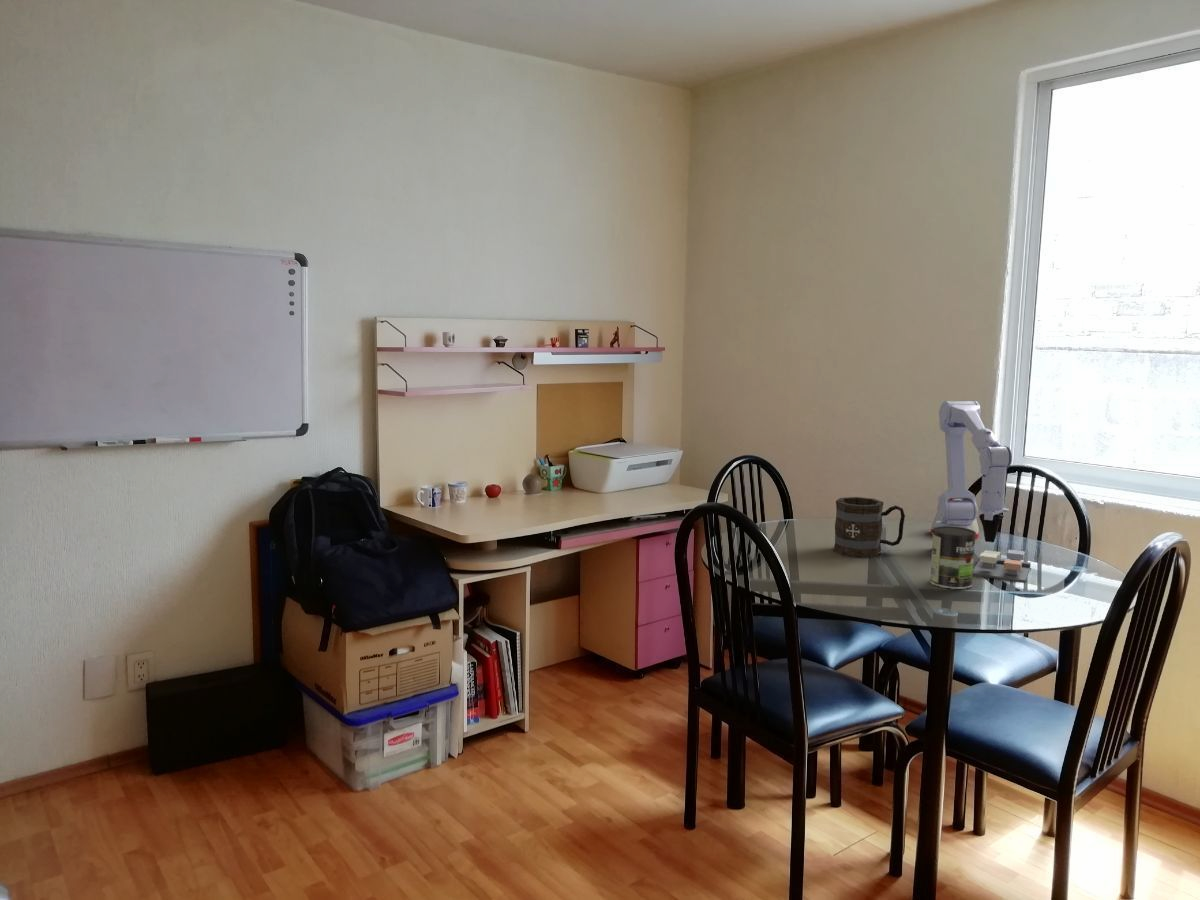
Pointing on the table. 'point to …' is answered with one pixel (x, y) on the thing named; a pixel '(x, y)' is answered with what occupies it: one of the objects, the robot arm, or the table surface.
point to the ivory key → (988, 559)
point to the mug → (861, 526)
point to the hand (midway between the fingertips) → (989, 541)
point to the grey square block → (1015, 555)
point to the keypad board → (1002, 571)
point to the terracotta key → (1012, 566)
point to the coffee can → (952, 557)
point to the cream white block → (993, 553)
